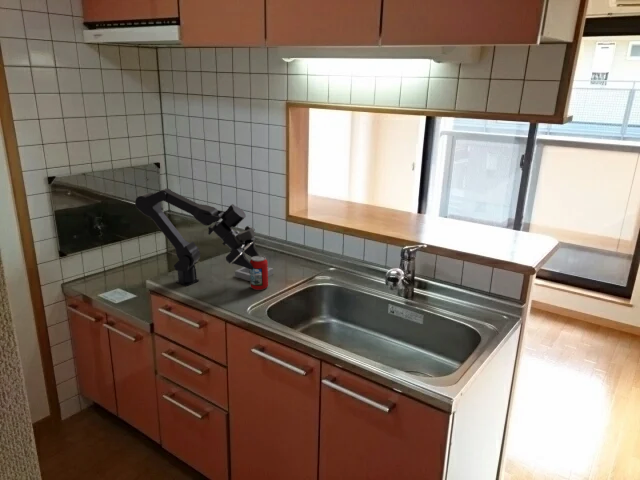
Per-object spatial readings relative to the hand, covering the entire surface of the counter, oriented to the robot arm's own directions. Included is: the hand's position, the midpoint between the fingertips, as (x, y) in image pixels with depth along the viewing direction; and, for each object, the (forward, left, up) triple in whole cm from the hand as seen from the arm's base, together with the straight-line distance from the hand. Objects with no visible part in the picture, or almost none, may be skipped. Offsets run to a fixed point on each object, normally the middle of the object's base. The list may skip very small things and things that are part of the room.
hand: (256, 264), depth 188 cm
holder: (+8, +9, -9) cm, 16 cm away
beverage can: (0, -1, -9) cm, 9 cm away
